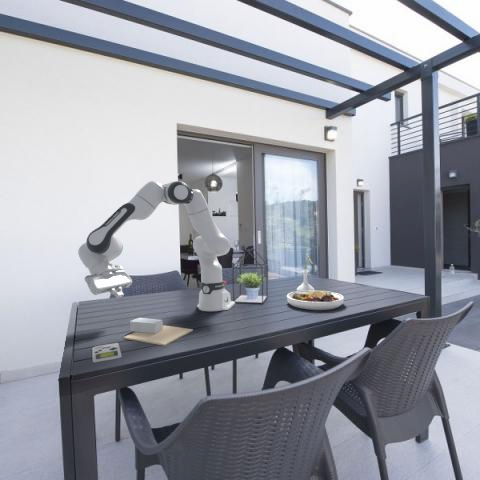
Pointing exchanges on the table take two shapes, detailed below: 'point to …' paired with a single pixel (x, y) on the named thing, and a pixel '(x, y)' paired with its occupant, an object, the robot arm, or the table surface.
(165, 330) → the mat
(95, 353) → the handheld gaming device
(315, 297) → the bowl
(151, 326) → the skincare box
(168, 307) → the table surface
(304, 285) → the flower in vase
